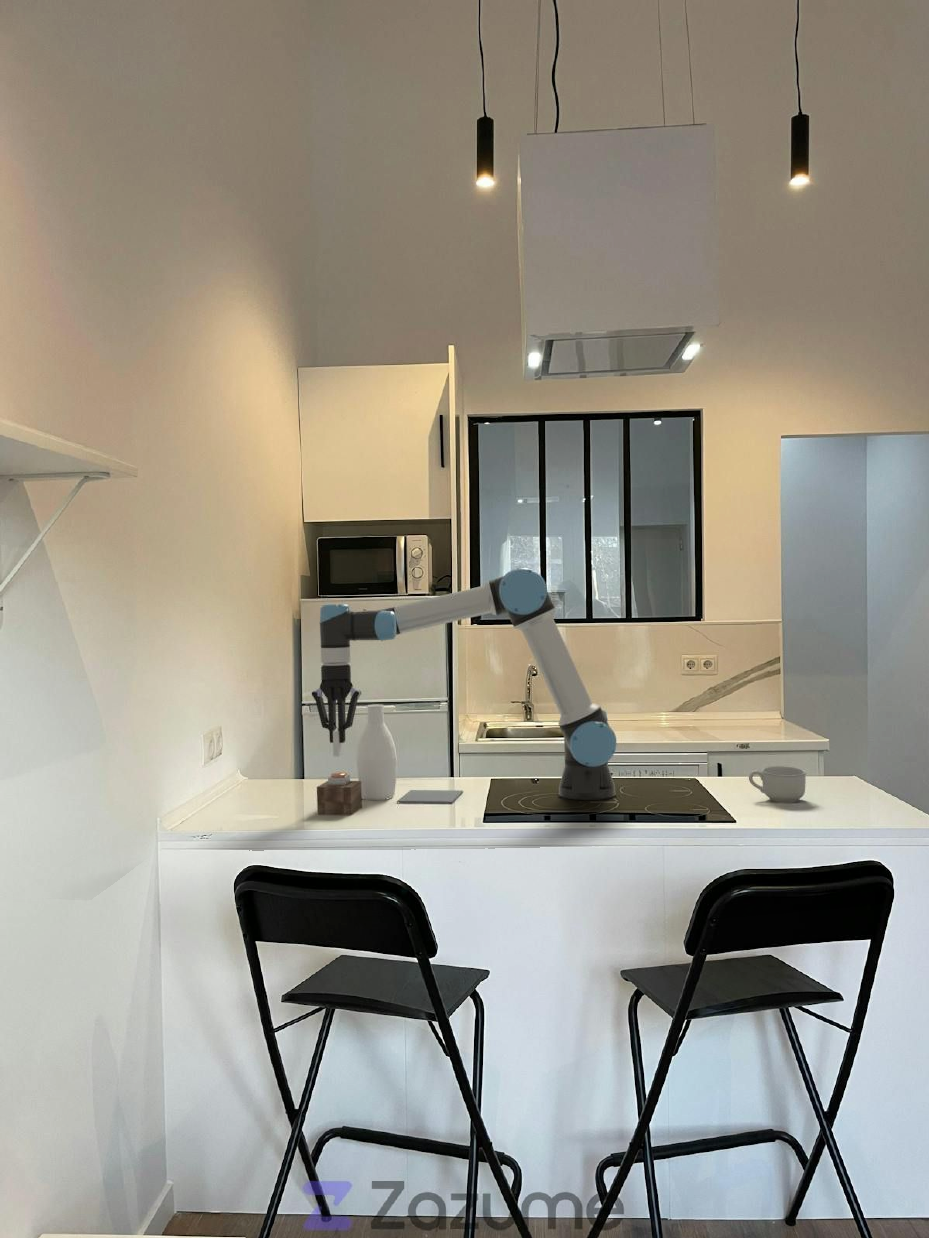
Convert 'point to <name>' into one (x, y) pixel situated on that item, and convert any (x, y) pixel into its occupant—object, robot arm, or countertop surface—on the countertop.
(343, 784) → the release button
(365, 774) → the bottle
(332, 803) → the button housing
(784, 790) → the teacup
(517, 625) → the robot arm
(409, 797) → the mat
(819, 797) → the countertop surface
